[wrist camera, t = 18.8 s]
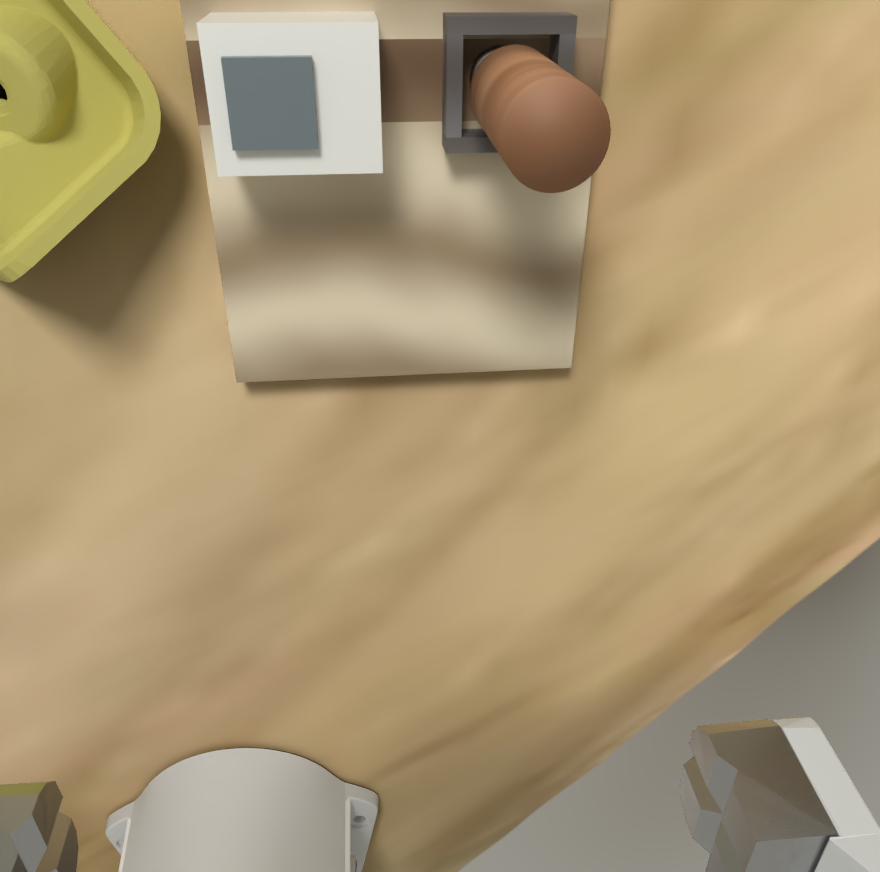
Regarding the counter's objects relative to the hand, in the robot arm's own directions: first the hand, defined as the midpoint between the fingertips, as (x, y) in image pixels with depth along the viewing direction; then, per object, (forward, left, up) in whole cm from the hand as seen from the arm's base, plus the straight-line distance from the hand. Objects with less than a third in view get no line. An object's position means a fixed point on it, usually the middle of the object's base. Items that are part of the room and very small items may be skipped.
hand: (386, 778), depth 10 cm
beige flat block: (0, -2, -29) cm, 29 cm away
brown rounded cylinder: (+4, -6, -28) cm, 29 cm away
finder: (+4, +2, -28) cm, 28 cm away
